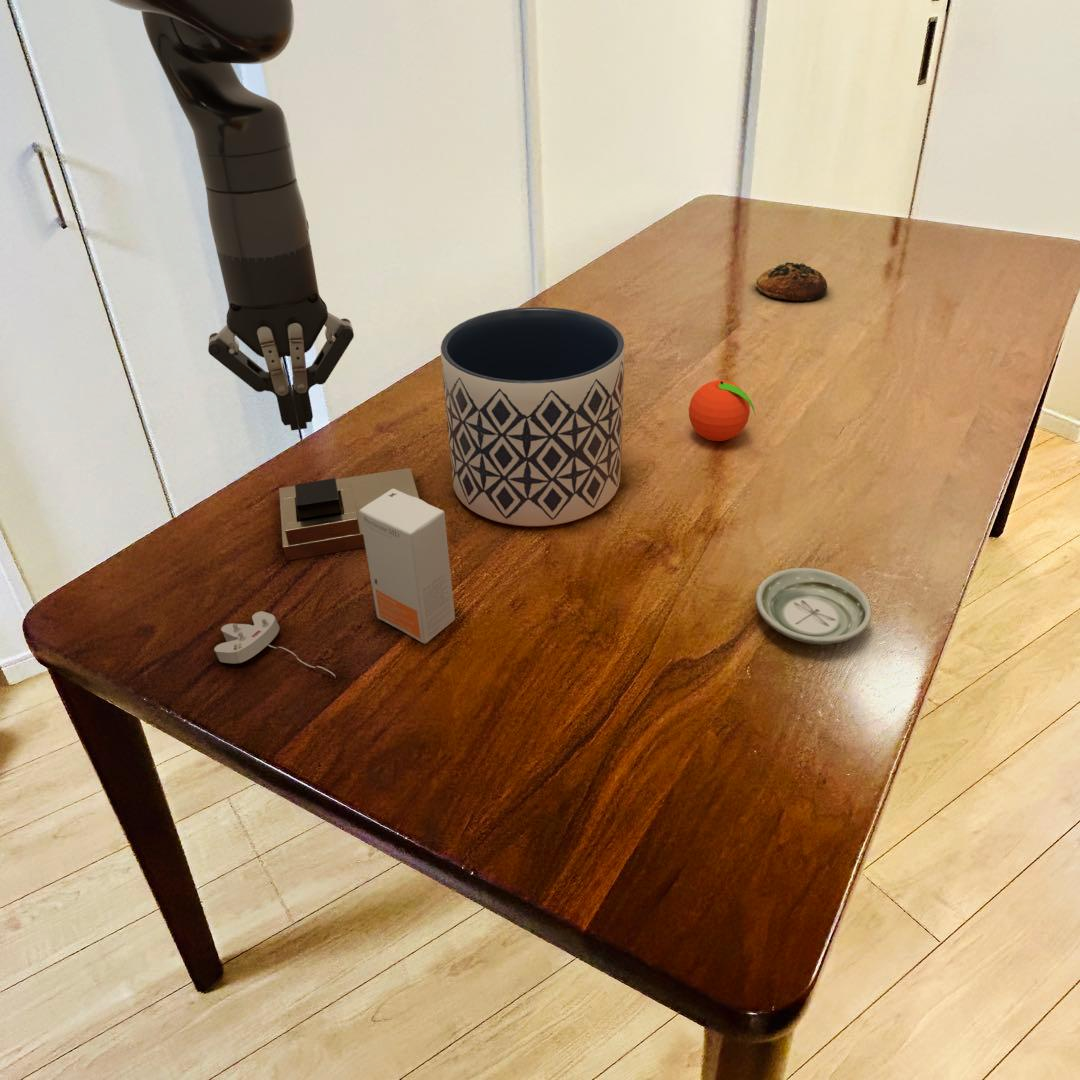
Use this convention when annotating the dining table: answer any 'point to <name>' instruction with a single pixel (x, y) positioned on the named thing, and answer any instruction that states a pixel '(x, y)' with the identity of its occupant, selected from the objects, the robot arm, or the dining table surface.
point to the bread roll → (792, 282)
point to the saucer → (813, 606)
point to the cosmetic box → (409, 564)
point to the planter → (534, 413)
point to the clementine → (719, 410)
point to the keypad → (341, 528)
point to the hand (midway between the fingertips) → (299, 425)
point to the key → (317, 499)
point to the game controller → (249, 639)
